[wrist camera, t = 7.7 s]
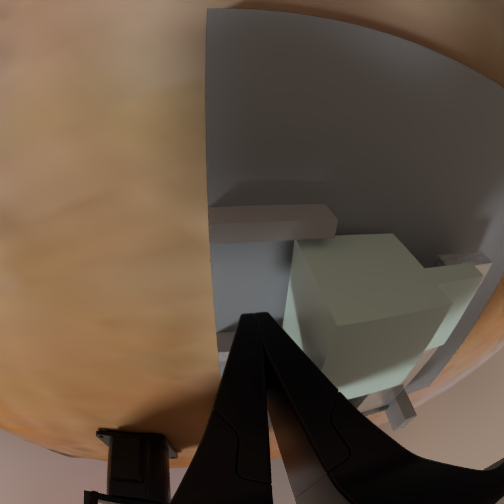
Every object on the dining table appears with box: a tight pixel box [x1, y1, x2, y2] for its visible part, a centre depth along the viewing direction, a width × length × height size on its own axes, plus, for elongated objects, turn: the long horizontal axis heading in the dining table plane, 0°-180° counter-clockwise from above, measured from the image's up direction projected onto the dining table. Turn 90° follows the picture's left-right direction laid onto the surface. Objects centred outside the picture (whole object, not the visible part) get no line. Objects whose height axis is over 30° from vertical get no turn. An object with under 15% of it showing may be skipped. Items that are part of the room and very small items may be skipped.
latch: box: [283, 233, 484, 399], centre depth 9 cm, size 4×6×4 cm, turn 88°
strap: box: [351, 251, 492, 416], centre depth 13 cm, size 14×3×1 cm, turn 178°
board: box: [205, 9, 504, 431], centre depth 12 cm, size 22×17×4 cm
